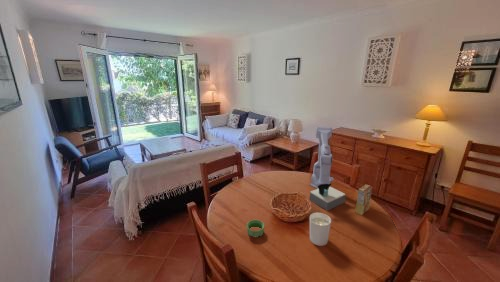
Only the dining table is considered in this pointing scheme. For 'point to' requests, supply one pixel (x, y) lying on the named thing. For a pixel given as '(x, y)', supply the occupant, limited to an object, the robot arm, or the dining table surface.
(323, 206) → the grey open box
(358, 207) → the candy box
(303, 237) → the dining table surface
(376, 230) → the dining table surface
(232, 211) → the dining table surface
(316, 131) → the robot arm
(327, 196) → the lid
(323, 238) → the candle holder
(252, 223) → the green ring
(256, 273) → the dining table surface
